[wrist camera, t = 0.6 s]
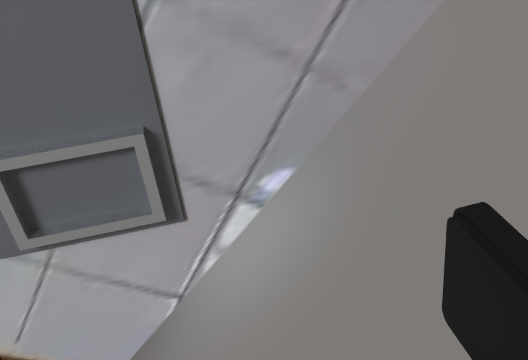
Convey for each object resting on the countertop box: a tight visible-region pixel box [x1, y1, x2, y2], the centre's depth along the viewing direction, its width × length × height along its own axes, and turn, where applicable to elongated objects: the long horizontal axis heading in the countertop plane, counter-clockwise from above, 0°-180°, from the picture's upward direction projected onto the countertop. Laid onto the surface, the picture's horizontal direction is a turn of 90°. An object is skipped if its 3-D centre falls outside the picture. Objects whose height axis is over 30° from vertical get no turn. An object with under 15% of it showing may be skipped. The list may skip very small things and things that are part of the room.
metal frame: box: [0, 126, 166, 251], centre depth 43 cm, size 9×13×2 cm
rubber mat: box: [0, 0, 184, 259], centre depth 41 cm, size 23×24×1 cm
